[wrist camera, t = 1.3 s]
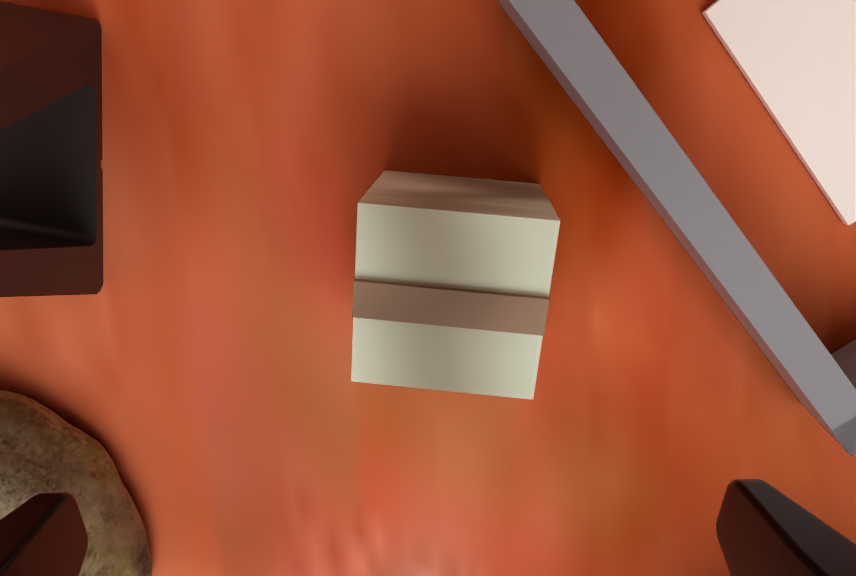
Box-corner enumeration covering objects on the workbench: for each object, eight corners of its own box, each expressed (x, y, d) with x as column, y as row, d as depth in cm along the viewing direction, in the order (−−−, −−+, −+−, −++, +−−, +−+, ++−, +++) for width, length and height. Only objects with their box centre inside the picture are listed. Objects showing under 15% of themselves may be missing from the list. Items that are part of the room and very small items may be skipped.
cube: (540, 183, 20) (561, 222, 15) (520, 326, 22) (533, 403, 17) (384, 169, 20) (356, 204, 15) (377, 312, 22) (349, 384, 17)
